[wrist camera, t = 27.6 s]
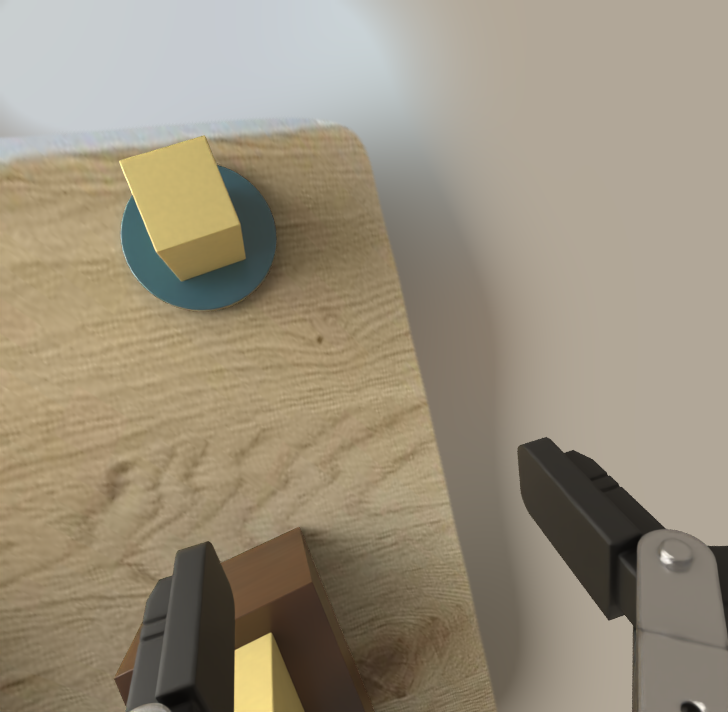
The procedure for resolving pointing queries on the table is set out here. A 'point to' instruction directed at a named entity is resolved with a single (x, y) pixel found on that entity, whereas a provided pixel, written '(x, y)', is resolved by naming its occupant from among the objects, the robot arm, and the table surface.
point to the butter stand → (287, 624)
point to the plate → (218, 284)
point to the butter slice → (186, 207)
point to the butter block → (263, 679)
